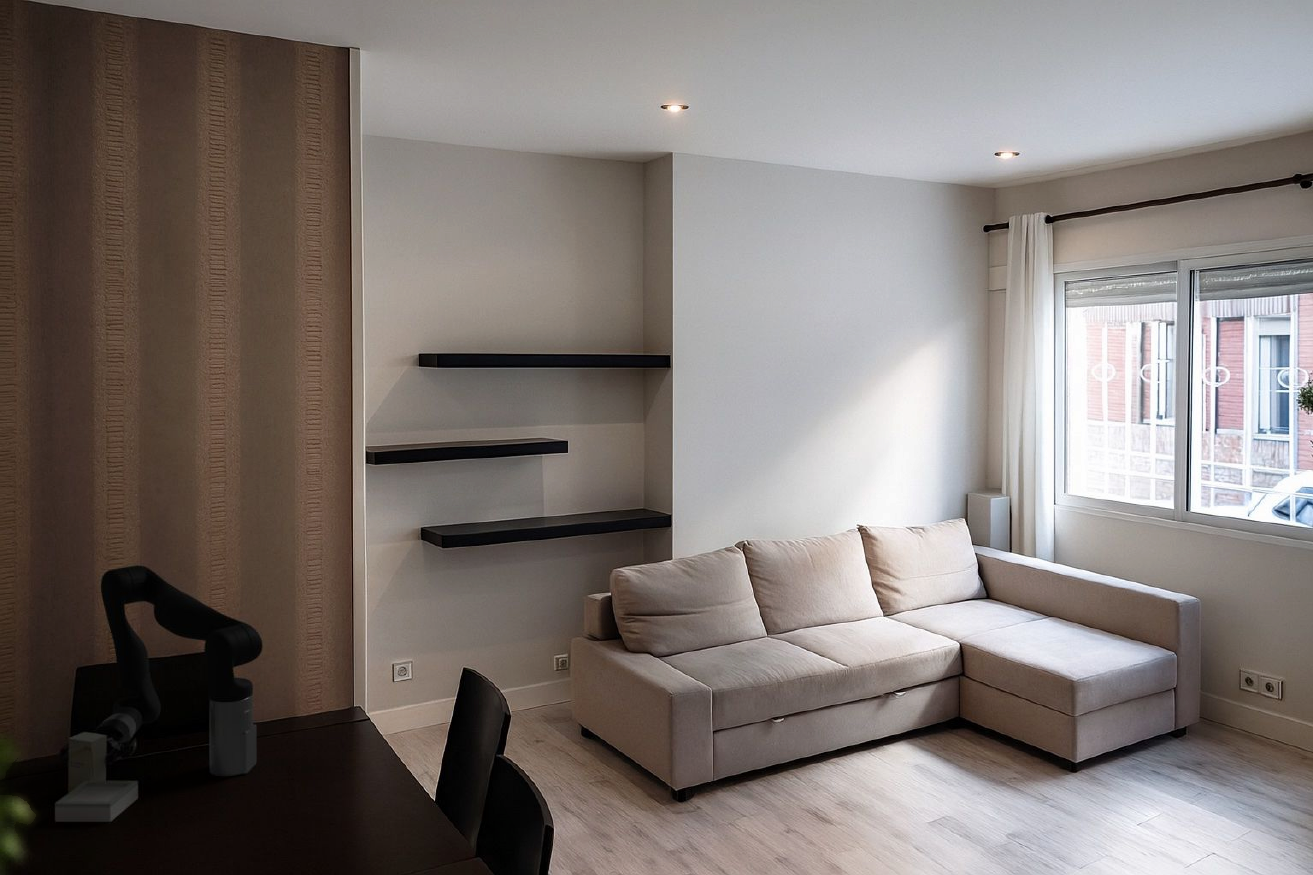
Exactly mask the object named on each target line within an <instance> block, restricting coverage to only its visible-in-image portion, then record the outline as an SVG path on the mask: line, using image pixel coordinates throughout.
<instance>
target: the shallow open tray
mask: <svg viewBox="0 0 1313 875" xmlns="http://www.w3.org/2000/svg"><path fill="white" fill-rule="evenodd" d="M138 799H139V780H106V781H84V782H83V783H82V784H80V785H79V786H78V787H76V788H75V789H74V790H72V791H71V792H70V793H69V792H68V793H67V794H65V795H64V796H62V797H61V798H60V799H58V800H57V801H56V802H55V803H54V822H57V823H58V822H59V823H62V822H63V823H64V822H65V823H66V822H67V823H69V822H70V823H111V822H112V821H113V820H114V819H115V818H116V817H118V816H119V815H120V814H121V813H123V812H124V811H125V810H126V809H127V808H128V807H130V806H131V805H132V804H133V803H134V802H136V801H137V800H138Z"/></svg>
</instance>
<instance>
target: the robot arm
mask: <svg viewBox="0 0 1313 875" xmlns="http://www.w3.org/2000/svg"><path fill="white" fill-rule="evenodd" d="M100 592H101V599H102V603H103V606H104V611H105V616H106V619H107V623H108V626H109V630H110V633H111V638H112V641H113V645H114V652H115V660H116V661H115V662H116V670H117V671H116V672H117V673H116V674H117V682H118V686H119V687H120V688H123V689H126V690H128V689H129V690H134V691H136V692H137V693H138V694H139V695H135V696H127V697H121V698H120V699H118V700H116V701H115V703H114V704H113V707H112V713H111V715H110V716H109V717H107V718H106V719H104V720H103V721H102V722H101V723H100V724H99V725H98V726H96V727H95V729H94V730H93V731H92V732H91V733H96V734H102V735H107V739H106V766H110V765H112V764H113V763H115V762H116V761H117V760H119V759H121V758H122V757H124V758H130V757H131V756H132V755H133V753H134V752H135V751H136V749H137V737H136V736H134V735H135V734H136V733H137V731H139V729H140V728H141V726H142V725H145V724H151V723H154V722H156V720H157V719H158V718H159V717H160V714H161V710H162V707H161V706H162V705H161V701H160V699H159V697H158V694H157V692H156V690H155V687H154V684H153V682H152V679H151V678H152V677H151V675H150V674H151V673H150V663H149V654H148V653H149V652H148V650H147V648H146V645H145V644H144V641H143V640H142V639H141V637H139V635H138V634H137V633H136V631H135V630H134V629H133V628H132V626H131V624H130V623H129V621H128V618H127V615H126V609H125V608H126V607H125V605H129V604H135V603H140V602H142V603H143V602H145V603H148V604H151V605H153V616H154V618H155V621H156V622H157V624H158V625H159V626H161V627H162V628H163V629H165V630H166V631H169V632H170V633H171V634H173V635H175V636H178V637H181V638H184V639H190V640H197V641H204V648H203V649H204V650H203V654H204V664H205V665H204V667H205V682H206V686H207V690H208V700H209V701H208V703H209V705H208V706H209V707H208V708H209V709H208V710H209V711H208V714H209V715H208V716H209V722H208V723H209V726H208V727H209V728H208V730H209V732H208V733H209V734H208V735H209V736H208V738H209V739H208V740H209V741H208V742H209V752H208V753H209V773H210V774H211V775H212V776H217V777H233V776H238V775H242V774H243V775H245V774H248V773H249V772H250V771H251V770H252V769H253V767H254V766H256V764H257V724H256V723H254V685H253V682H252V681H251V680H250V679H248V678H243V677H235V672H234V668H236V667H239V666H243V665H246V664H247V665H248V664H249V663H251V662H253V661H255V660H257V658H259V656H260V655H261V653H262V651H263V648H264V647H263V646H264V645H263V640H262V637H261V635H260V634H259V632H258V630H256V628H254V627H253V626H252V625H250V624H248V623H247V622H244V621H241V620H238V619H236V618H233V617H230V616H228V615H225V614H223V613H222V612H220V611H218V610H216V609H214V608H212V607H211V606H209V605H206V604H205V603H203V602H201V601H200V600H198V599H196V598H195V597H193V596H191V595H190V594H189V593H186V592H183V591H181V590H180V589H178V588H177V587H175V586H173V585H172V584H171V583H168V582H167V581H166V580H164V579H163V578H162V577H161V576H160V575H158V574H157V573H156V572H155V571H153V570H152V569H151V568H149V567H147V566H145V565H131V566H126V567H124V566H123V567H120V568H119V567H118V568H113V569H109V570H107V571H106V572H105V573H104V574H103V575H102V577H101V581H100ZM59 761H61V765H62V766H63V768H69V742H68V743H67V744H65V745H64V746H62V747H61V748H60V749H59Z"/></svg>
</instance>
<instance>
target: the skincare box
mask: <svg viewBox="0 0 1313 875" xmlns="http://www.w3.org/2000/svg"><path fill="white" fill-rule="evenodd" d="M106 739H107V735H102V734H96V733H92V732H88V731H82V732H79V733H78V734H75V735H73V736H71V737H69V738H68V743H69V766H68V768H67V769H68V773H67V774H68V776H67V777H68V782H67V786H68V787H67V792H68V793H70V792H71V791H72V790H74V789H75V788H76V787H78V786H79V785H80V784H82V783H83V782H84V781H107V757H106Z"/></svg>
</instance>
